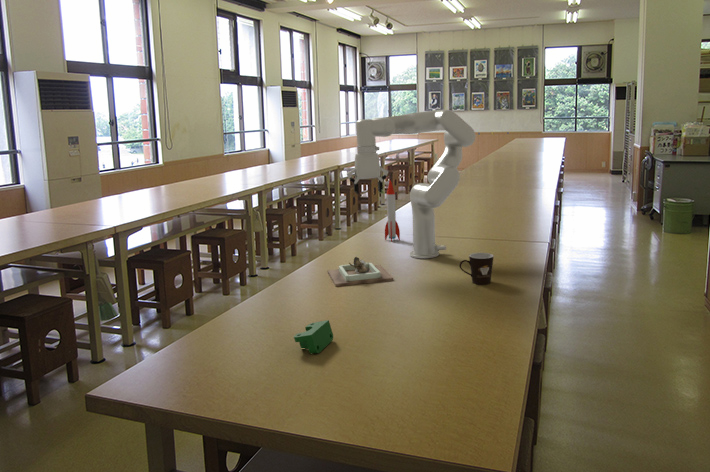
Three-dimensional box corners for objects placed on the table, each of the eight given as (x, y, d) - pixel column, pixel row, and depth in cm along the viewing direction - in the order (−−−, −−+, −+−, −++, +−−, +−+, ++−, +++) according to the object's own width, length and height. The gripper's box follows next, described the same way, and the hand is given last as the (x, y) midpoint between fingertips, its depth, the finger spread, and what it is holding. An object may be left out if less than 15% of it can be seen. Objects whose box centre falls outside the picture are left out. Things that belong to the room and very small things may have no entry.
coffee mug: (494, 279, 206) (494, 253, 204) (492, 286, 198) (492, 258, 196) (462, 278, 209) (462, 252, 207) (459, 284, 202) (458, 257, 199)
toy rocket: (400, 240, 278) (398, 180, 272) (391, 242, 275) (389, 181, 269) (393, 238, 282) (391, 179, 276) (384, 240, 279) (382, 180, 273)
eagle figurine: (344, 272, 218) (349, 267, 210) (351, 255, 220) (356, 251, 212) (362, 280, 219) (368, 276, 211) (368, 263, 221) (374, 259, 213)
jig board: (380, 267, 230) (380, 260, 229) (393, 280, 211) (393, 272, 210) (327, 272, 226) (327, 265, 225) (335, 286, 207) (335, 278, 206)
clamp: (316, 355, 158) (313, 323, 160) (334, 353, 155) (331, 320, 158) (293, 355, 147) (290, 321, 150) (312, 353, 145) (309, 318, 147)
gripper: (385, 148, 232) (386, 189, 235) (344, 151, 229) (346, 192, 232) (389, 149, 225) (391, 191, 228) (347, 152, 221) (349, 195, 225)
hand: (368, 192), depth 230 cm, fingers open, 9 cm apart
